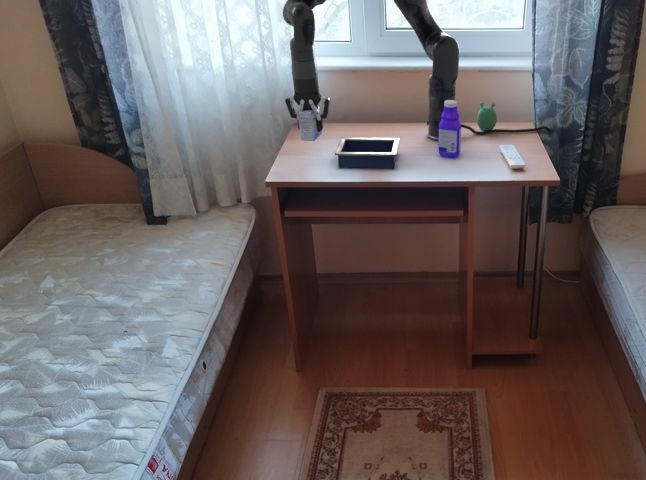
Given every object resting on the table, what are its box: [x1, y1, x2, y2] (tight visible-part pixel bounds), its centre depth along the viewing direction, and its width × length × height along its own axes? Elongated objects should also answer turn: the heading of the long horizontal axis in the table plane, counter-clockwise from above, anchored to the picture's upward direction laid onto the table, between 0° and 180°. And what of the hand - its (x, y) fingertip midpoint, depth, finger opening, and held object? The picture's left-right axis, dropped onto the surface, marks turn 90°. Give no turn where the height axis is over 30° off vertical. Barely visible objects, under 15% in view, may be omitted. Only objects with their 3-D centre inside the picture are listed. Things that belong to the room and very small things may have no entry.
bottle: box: [437, 99, 462, 159], centre depth 214 cm, size 7×6×17 cm
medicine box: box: [297, 106, 323, 142], centre depth 209 cm, size 8×4×9 cm, turn 168°
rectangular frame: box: [334, 137, 400, 170], centre depth 213 cm, size 19×15×5 cm
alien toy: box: [476, 101, 498, 132], centre depth 237 cm, size 7×8×10 cm
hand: (311, 131), depth 211 cm, fingers closed on medicine box, 5 cm apart
